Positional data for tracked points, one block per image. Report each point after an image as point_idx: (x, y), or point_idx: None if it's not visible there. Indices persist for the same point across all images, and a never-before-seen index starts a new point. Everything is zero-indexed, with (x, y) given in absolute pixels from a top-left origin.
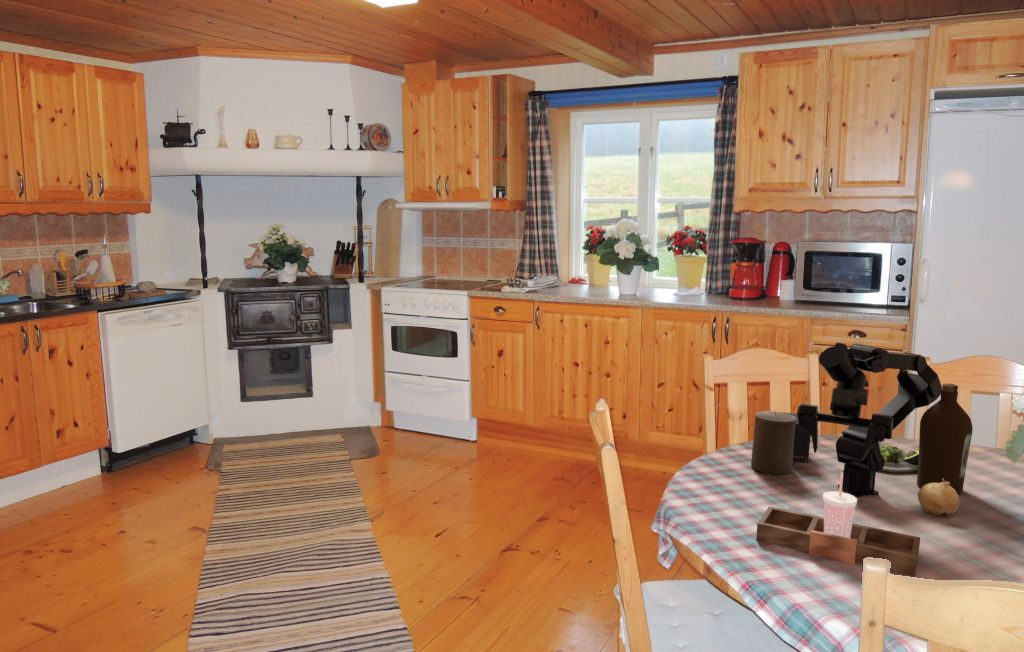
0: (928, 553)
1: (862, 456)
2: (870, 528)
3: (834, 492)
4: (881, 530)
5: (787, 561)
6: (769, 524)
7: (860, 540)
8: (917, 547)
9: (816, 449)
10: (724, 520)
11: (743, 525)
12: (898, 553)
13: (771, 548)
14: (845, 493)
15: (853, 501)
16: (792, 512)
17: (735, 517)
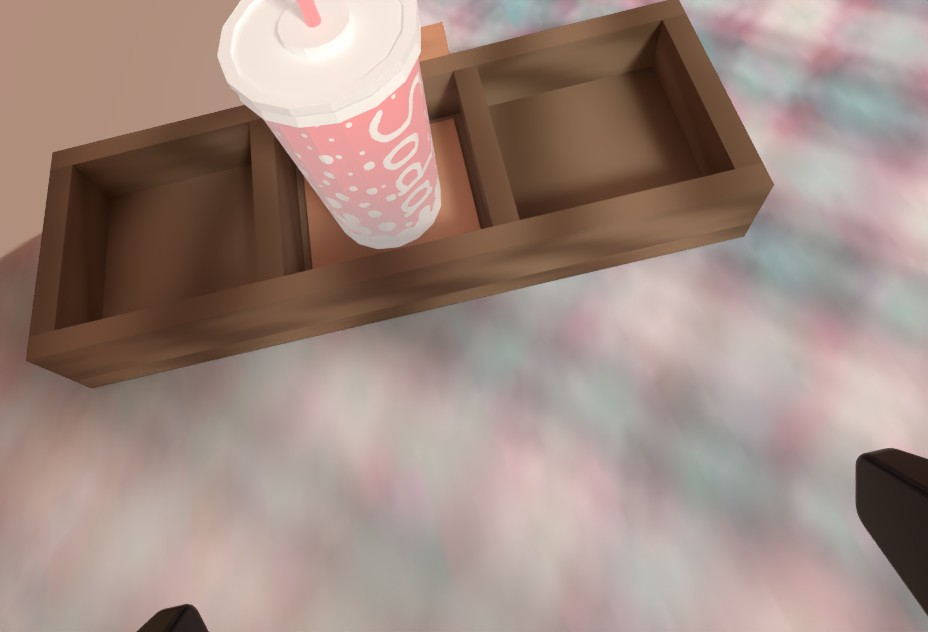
0: (52, 434)
1: (158, 618)
2: (247, 290)
3: (370, 76)
4: (197, 307)
5: (491, 14)
6: (633, 22)
7: (264, 142)
8: (45, 244)
9: (891, 531)
10: (892, 119)
11: (795, 134)
12: (117, 141)
13: None
14: (302, 99)
15: (237, 40)
16: (633, 201)
17: (887, 179)
